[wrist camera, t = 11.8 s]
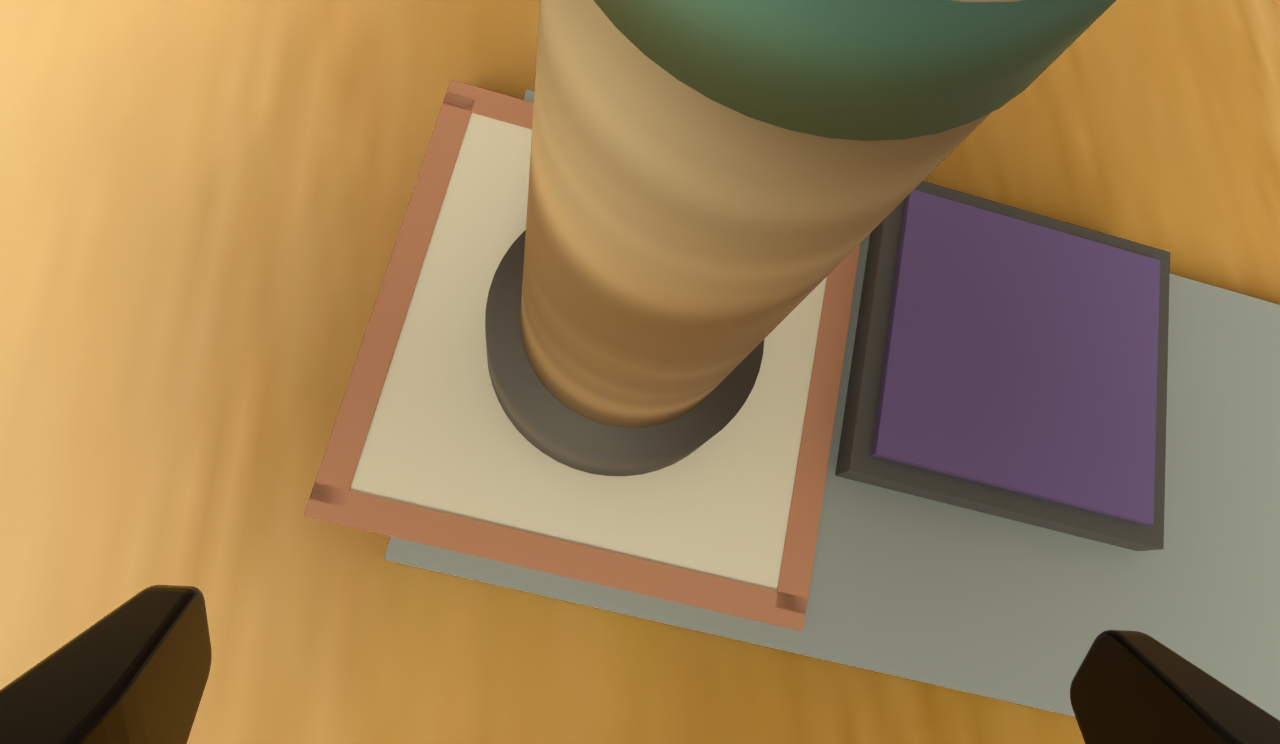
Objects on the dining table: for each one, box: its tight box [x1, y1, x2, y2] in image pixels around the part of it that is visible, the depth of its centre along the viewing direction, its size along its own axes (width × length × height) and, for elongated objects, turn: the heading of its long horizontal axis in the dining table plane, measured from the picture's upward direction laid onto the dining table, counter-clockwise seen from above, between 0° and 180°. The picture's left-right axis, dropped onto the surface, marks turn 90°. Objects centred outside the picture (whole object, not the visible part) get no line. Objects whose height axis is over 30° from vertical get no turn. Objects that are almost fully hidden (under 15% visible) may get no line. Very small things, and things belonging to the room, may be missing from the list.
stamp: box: [485, 0, 1116, 476], centre depth 10 cm, size 5×5×13 cm
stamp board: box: [304, 80, 1280, 720], centre depth 17 cm, size 24×10×2 cm, turn 78°
